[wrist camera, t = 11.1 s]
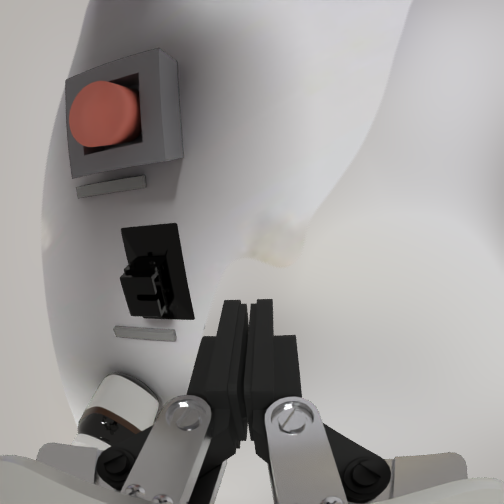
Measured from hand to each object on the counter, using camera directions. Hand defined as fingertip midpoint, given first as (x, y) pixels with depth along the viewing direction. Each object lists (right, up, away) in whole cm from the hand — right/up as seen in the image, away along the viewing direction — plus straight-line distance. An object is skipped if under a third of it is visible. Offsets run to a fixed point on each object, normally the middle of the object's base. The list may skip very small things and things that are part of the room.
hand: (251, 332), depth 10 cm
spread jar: (-15, -17, +23) cm, 32 cm away
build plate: (-8, +1, +15) cm, 18 cm away
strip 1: (-12, +8, +12) cm, 19 cm away
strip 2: (-11, -5, +17) cm, 21 cm away
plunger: (-10, +13, +8) cm, 18 cm away
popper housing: (-9, +14, +10) cm, 19 cm away
